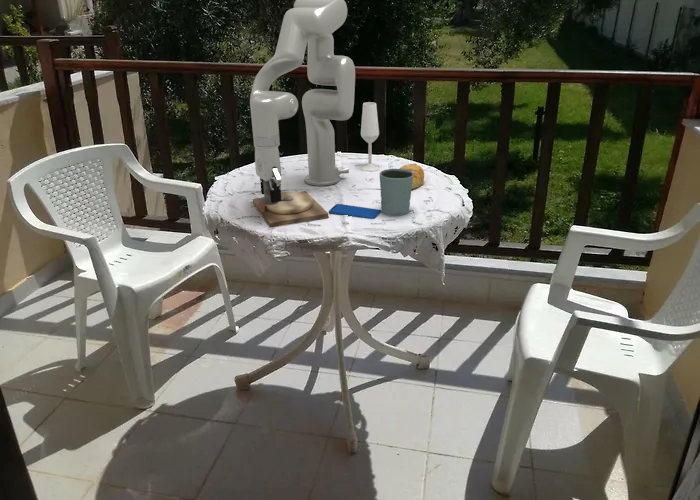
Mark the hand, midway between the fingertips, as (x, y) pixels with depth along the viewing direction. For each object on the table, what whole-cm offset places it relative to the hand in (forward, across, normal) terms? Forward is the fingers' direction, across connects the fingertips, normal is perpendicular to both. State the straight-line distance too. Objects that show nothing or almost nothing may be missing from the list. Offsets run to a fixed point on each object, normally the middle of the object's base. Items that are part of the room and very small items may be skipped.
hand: (271, 197), depth 179 cm
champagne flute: (+6, -25, +48) cm, 55 cm away
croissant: (+6, -3, +51) cm, 52 cm away
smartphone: (+6, +12, +22) cm, 26 cm away
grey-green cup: (+6, +17, +34) cm, 38 cm away
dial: (+4, 0, +5) cm, 7 cm away
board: (+5, 0, +6) cm, 8 cm away
